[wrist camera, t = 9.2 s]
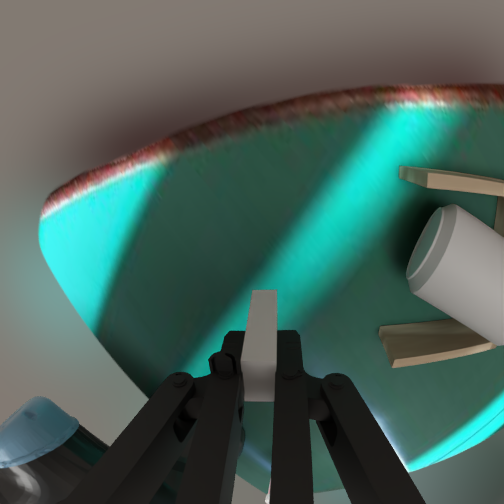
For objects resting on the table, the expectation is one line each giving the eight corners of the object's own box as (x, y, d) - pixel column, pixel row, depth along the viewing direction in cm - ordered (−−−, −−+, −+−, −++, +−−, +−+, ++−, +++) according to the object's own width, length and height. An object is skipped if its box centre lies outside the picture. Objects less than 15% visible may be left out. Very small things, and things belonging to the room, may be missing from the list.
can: (397, 278, 22) (489, 335, 19) (406, 298, 16) (518, 368, 12) (433, 202, 21) (524, 265, 17) (456, 191, 14) (564, 278, 10)
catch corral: (475, 322, 24) (495, 347, 19) (378, 334, 25) (391, 367, 21) (505, 180, 18) (537, 190, 13) (399, 165, 20) (427, 172, 15)
